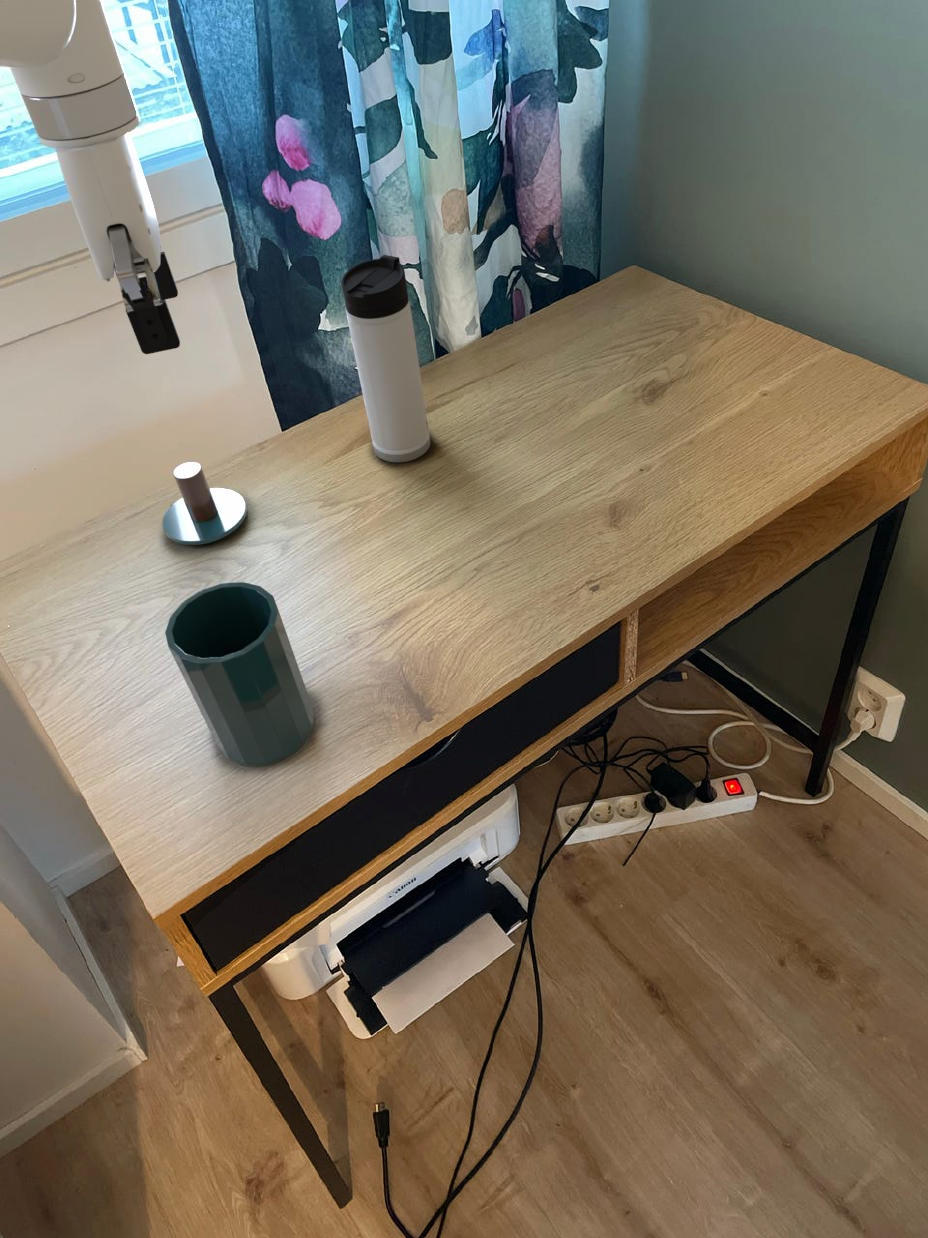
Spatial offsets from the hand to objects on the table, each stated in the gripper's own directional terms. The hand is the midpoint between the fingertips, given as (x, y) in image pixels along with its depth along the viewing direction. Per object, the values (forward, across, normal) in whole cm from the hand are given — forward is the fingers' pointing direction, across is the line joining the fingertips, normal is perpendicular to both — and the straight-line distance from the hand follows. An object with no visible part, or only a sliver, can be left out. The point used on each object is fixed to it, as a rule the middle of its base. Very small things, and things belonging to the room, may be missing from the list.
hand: (161, 323), depth 79 cm
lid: (+20, +1, -2) cm, 21 cm away
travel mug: (+21, -4, +20) cm, 29 cm away
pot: (+21, +30, +1) cm, 37 cm away
